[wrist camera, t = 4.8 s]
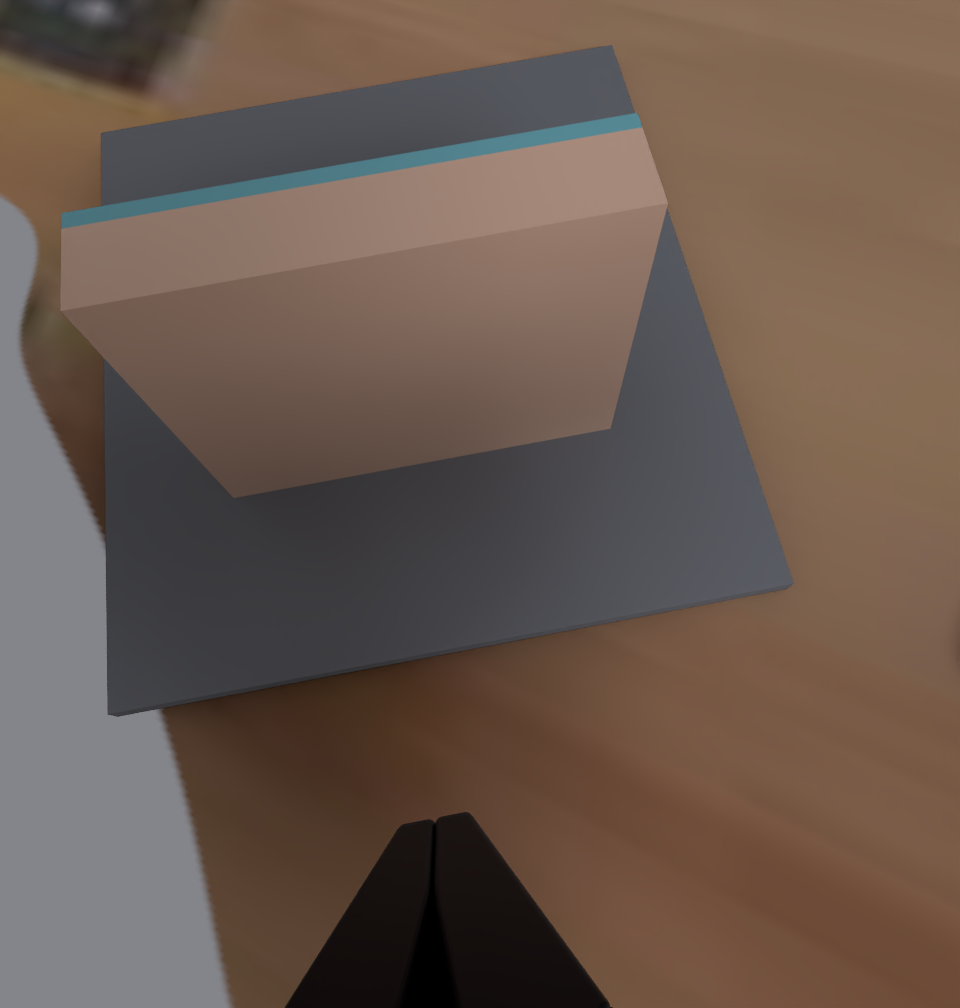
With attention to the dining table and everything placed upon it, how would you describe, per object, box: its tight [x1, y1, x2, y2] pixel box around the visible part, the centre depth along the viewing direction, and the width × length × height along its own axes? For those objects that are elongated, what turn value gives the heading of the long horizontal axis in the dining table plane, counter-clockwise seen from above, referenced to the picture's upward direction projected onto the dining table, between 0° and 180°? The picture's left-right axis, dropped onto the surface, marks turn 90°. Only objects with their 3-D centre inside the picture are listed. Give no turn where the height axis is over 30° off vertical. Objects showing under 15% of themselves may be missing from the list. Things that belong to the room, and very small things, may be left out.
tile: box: [60, 113, 668, 498], centre depth 20 cm, size 2×12×10 cm, turn 100°
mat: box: [101, 45, 794, 717], centre depth 27 cm, size 22×20×1 cm
